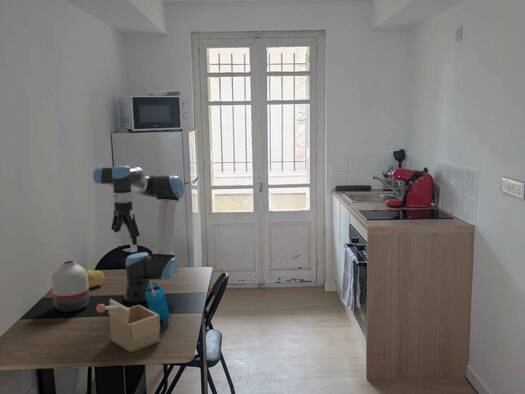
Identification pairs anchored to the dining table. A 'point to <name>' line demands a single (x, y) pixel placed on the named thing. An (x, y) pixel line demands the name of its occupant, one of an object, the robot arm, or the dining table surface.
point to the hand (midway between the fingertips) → (126, 248)
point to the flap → (115, 311)
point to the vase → (70, 287)
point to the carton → (136, 329)
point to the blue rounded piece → (157, 301)
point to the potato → (94, 278)
